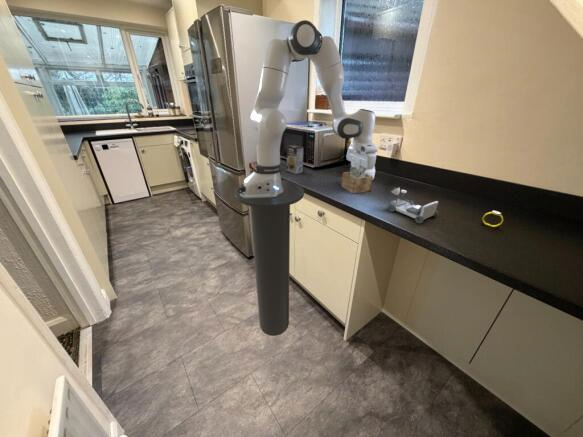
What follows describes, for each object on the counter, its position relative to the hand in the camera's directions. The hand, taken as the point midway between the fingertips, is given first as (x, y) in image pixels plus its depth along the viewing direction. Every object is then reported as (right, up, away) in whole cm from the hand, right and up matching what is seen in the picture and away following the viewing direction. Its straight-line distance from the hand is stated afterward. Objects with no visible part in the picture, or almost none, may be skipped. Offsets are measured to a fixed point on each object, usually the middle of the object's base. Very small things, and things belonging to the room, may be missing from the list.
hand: (357, 172), depth 121 cm
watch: (+43, -27, -30) cm, 59 cm away
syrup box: (0, -6, +3) cm, 6 cm away
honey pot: (+9, +1, +21) cm, 23 cm away
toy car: (+16, -21, -20) cm, 34 cm away
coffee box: (-32, +7, +31) cm, 45 cm away
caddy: (0, -8, +4) cm, 9 cm away
